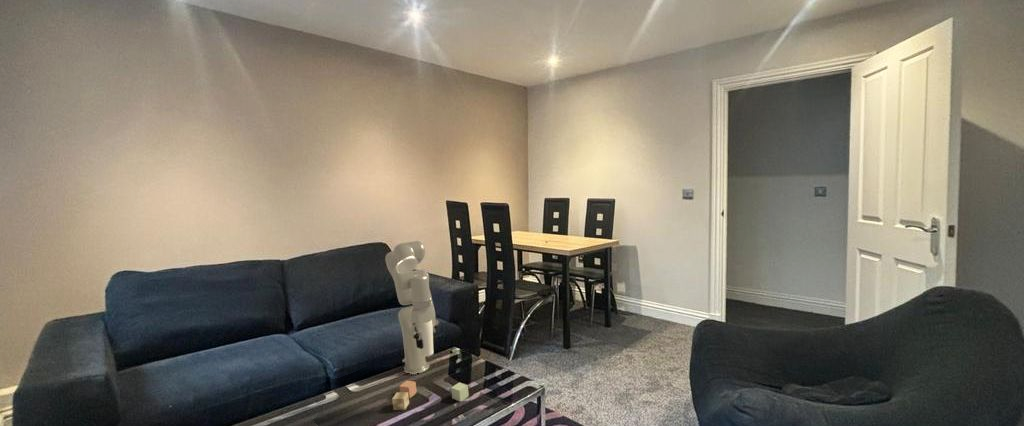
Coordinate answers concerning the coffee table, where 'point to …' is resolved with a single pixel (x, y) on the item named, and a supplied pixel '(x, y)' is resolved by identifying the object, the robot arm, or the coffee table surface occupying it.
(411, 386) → the terracotta block
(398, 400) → the birch block
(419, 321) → the robot arm
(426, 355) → the drinking glass
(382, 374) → the coffee table surface
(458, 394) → the sage block
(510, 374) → the coffee table surface
